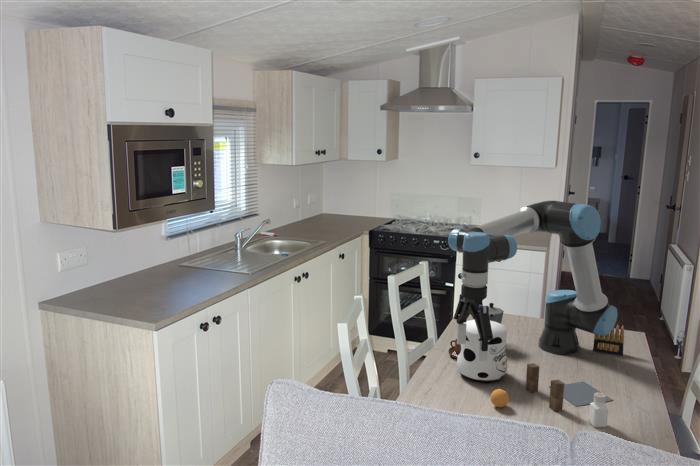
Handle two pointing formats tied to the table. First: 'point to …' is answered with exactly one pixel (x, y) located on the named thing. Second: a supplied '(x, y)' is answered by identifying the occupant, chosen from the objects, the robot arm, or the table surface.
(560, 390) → the post
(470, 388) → the table surface
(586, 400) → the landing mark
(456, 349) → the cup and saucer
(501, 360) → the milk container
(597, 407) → the pepper shaker
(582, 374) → the table surface
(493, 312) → the coffeepot
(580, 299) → the robot arm
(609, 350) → the ammunition clip
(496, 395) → the ball
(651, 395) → the table surface
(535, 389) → the post
